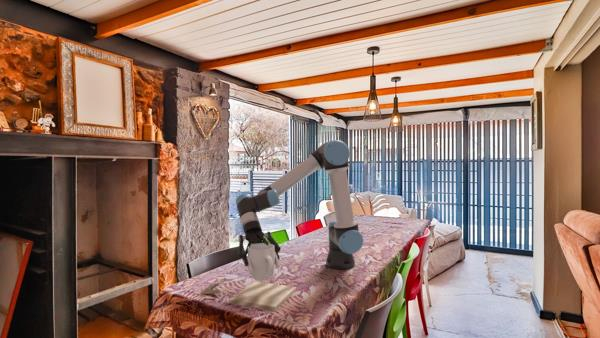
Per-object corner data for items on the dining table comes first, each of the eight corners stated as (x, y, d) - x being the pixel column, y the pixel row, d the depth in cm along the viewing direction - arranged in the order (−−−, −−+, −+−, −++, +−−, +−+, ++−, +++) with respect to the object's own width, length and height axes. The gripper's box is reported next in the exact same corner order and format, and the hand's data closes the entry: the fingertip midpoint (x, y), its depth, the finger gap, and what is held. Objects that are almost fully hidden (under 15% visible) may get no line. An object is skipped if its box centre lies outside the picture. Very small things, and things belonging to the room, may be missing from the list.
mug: (285, 281, 127) (284, 248, 127) (259, 288, 121) (259, 253, 121) (267, 271, 140) (266, 241, 140) (243, 276, 134) (243, 245, 134)
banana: (199, 300, 132) (198, 296, 132) (207, 283, 152) (206, 279, 152) (221, 295, 133) (220, 291, 133) (226, 279, 153) (225, 275, 153)
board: (296, 290, 137) (296, 286, 137) (275, 310, 118) (275, 306, 118) (255, 284, 144) (255, 281, 144) (229, 303, 126) (229, 299, 126)
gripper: (273, 226, 150) (288, 269, 137) (223, 232, 139) (234, 279, 126) (277, 217, 145) (294, 260, 132) (226, 222, 134) (238, 270, 121)
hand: (265, 269), depth 129 cm, fingers closed on mug, 11 cm apart
